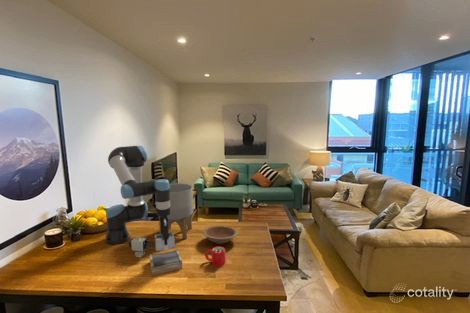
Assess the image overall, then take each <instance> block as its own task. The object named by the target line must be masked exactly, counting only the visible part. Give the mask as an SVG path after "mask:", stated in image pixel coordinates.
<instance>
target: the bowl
mask: <svg viewBox="0 0 470 313" xmlns="http://www.w3.org/2000/svg"><path fill="white" fill-rule="evenodd" d="M202 234H203V236H204V237H206V238H207V239H208V240H209V241H210V242H212V243H214V244H216V245H222V244H227V243H228V242H230V241H232V240H233V239H234V238H235V237H236V236H238V234H239V231H238V230H237V229H236V228H234V227H232V226H227V225H223V224H222V225H211V226H208V227H205V228H204V229H203V230H202Z"/></svg>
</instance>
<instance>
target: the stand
mask: <svg viewBox="0 0 470 313" xmlns="http://www.w3.org/2000/svg"><path fill="white" fill-rule="evenodd" d="M149 265H150V270H151V275H152V276H156V275H160V274H164V273H169V272H173V271H177V270H182V269H183V260H182V257H181V254H180V253H179V249H178V248H175V250H171V251H167V252H161V253H156V254H151V253H150V254H149Z"/></svg>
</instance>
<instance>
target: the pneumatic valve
mask: <svg viewBox="0 0 470 313" xmlns="http://www.w3.org/2000/svg"><path fill="white" fill-rule="evenodd" d="M150 246H151V242H150V240H149V238H147V237H141V236H139V237H138V236H134V237H133V238H132V239H130V240H129V242H128V247H129V248H130V250H131V251H134V252H135V253H134V255H135V258H143V257H144V256H145V254H146V251H147V250H149V248H150Z"/></svg>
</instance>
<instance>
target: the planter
mask: <svg viewBox="0 0 470 313" xmlns="http://www.w3.org/2000/svg"><path fill="white" fill-rule="evenodd" d="M169 186H170V188H169V190H170V215H168V216H167V218H168V230H170V229H171V230H172V224H174V223H176V224H177V225H178V227H179V229H180V231H181V237H182V239H183V240H186V239H188V230H189V231H190V230H192V227H193V226H192V224H193V223H192V215H193V214H194V194H193V193H194V192H193V191H194V189H193V188H194V187H193V185H191V184H189V183H181V182H178V183H176V182H175V183H174V182H173V183H169ZM158 222H159V234H162V233H161V227H160V216H158Z"/></svg>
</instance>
